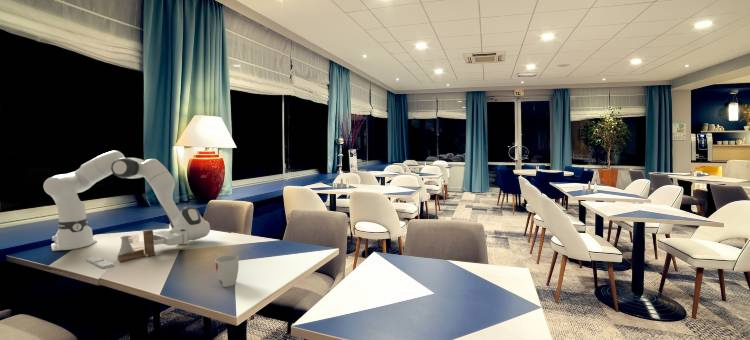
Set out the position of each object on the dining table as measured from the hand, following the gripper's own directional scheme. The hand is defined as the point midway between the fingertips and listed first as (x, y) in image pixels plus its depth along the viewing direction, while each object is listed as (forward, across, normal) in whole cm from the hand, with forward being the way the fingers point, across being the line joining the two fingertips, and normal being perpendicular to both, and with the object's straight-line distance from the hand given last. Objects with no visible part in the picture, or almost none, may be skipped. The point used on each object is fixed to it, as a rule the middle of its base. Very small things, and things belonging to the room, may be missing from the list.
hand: (148, 241), depth 171 cm
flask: (+7, -7, +7) cm, 12 cm away
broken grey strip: (+18, -8, +7) cm, 21 cm away
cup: (0, +65, +7) cm, 65 cm away
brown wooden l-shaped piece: (+5, -8, +7) cm, 12 cm away
